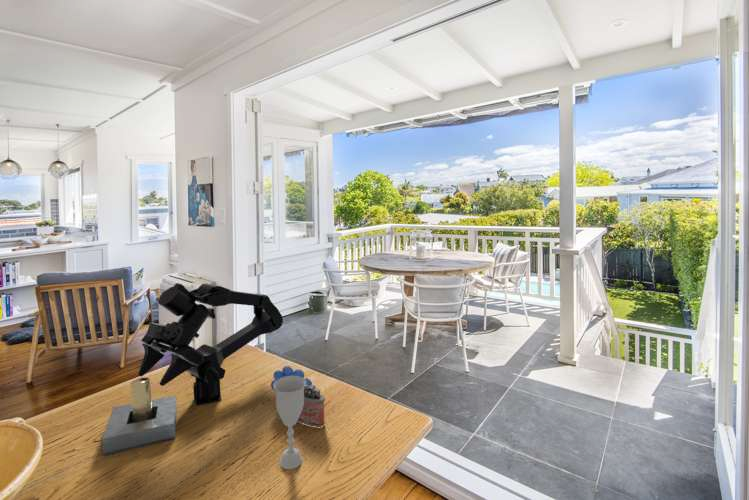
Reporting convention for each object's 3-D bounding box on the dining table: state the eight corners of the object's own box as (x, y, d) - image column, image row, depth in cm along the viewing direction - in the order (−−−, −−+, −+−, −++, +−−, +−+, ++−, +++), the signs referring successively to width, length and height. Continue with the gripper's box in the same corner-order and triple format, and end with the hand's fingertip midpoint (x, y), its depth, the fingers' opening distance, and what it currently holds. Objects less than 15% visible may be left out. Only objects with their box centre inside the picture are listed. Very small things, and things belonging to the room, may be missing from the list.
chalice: (277, 450, 86) (276, 375, 83) (308, 449, 86) (307, 375, 84) (272, 473, 78) (270, 392, 76) (304, 472, 79) (304, 391, 77)
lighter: (327, 423, 96) (327, 386, 95) (320, 430, 93) (320, 392, 92) (301, 415, 100) (301, 379, 98) (293, 422, 97) (293, 385, 95)
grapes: (266, 415, 99) (265, 372, 98) (274, 402, 106) (273, 361, 104) (309, 417, 99) (309, 374, 97) (315, 403, 105) (314, 363, 104)
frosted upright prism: (157, 424, 94) (153, 378, 92) (144, 433, 90) (140, 386, 88) (143, 421, 95) (140, 376, 93) (130, 431, 91) (126, 384, 89)
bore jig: (176, 409, 102) (175, 395, 101) (175, 438, 89) (174, 423, 89) (114, 421, 95) (113, 407, 95) (103, 455, 83) (102, 438, 82)
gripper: (146, 303, 100) (102, 358, 92) (190, 315, 90) (146, 377, 82) (176, 324, 107) (138, 376, 99) (219, 336, 98) (182, 395, 90)
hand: (150, 380), depth 93 cm, fingers open, 9 cm apart
